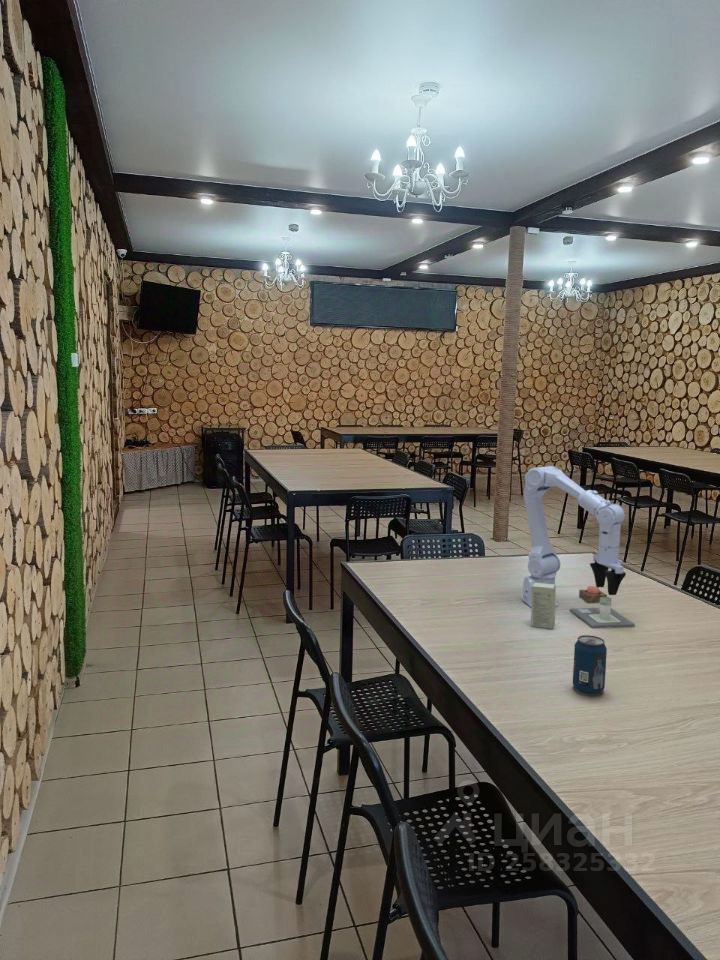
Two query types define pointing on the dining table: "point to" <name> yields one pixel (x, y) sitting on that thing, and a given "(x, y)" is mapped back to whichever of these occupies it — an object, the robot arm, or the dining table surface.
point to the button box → (591, 596)
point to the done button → (592, 590)
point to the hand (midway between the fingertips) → (606, 590)
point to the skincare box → (543, 605)
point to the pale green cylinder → (605, 608)
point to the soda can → (589, 665)
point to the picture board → (594, 621)
